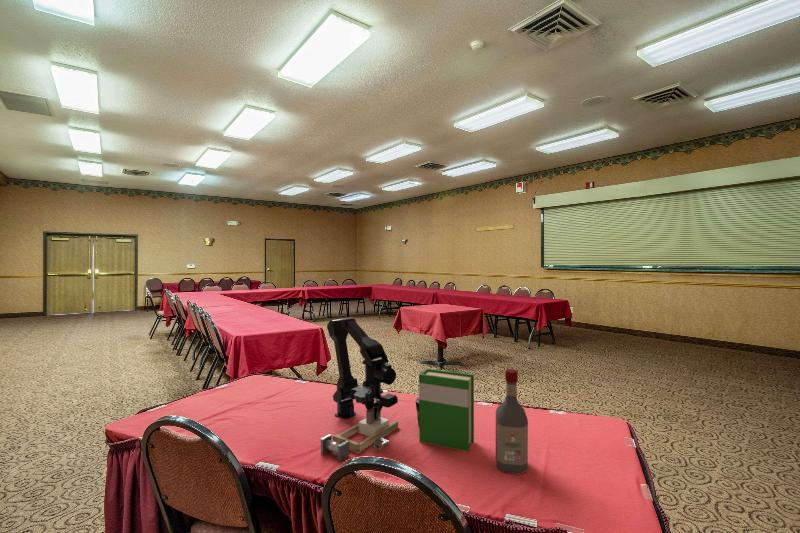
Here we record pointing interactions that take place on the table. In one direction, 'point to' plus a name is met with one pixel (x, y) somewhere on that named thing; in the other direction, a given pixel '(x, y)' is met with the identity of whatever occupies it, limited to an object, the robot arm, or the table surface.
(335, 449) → the winch
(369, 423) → the two-tone stepped block
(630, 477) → the table surface
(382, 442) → the crank handle
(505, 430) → the liquor
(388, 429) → the bay
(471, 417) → the hardback book
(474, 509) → the table surface
